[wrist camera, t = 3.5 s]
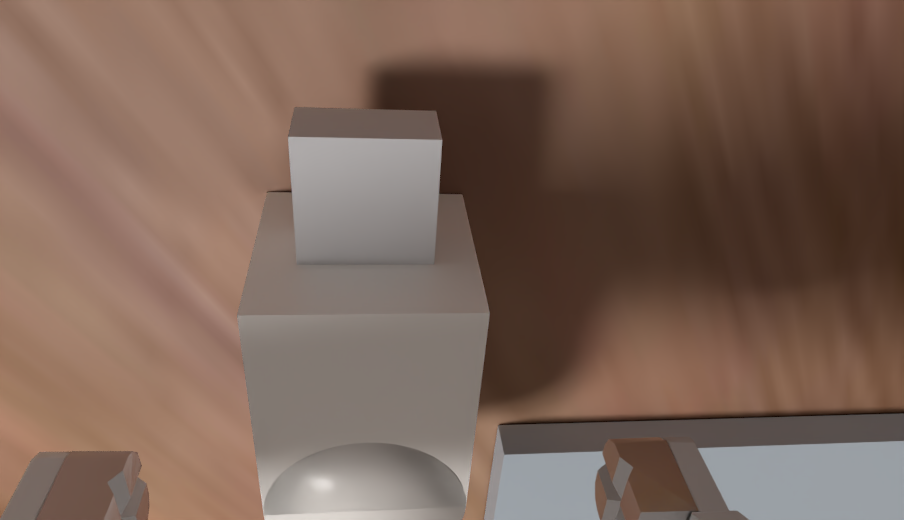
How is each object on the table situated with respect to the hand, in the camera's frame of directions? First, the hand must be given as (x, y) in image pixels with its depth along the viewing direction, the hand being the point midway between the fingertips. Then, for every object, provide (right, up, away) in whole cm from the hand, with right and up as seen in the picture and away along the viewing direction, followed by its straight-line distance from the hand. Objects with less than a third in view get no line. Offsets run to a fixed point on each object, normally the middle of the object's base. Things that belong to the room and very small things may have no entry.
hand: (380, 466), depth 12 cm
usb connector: (-1, +3, +3) cm, 5 cm away
